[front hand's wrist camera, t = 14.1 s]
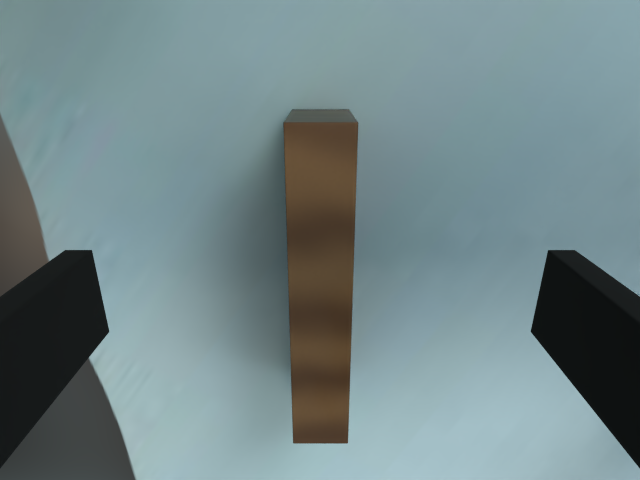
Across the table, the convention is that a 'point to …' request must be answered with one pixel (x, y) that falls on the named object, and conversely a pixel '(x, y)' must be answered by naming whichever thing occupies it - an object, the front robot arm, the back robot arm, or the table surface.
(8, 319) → the front robot arm
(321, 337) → the bar
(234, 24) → the table surface
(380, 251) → the table surface
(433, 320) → the table surface
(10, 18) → the table surface
